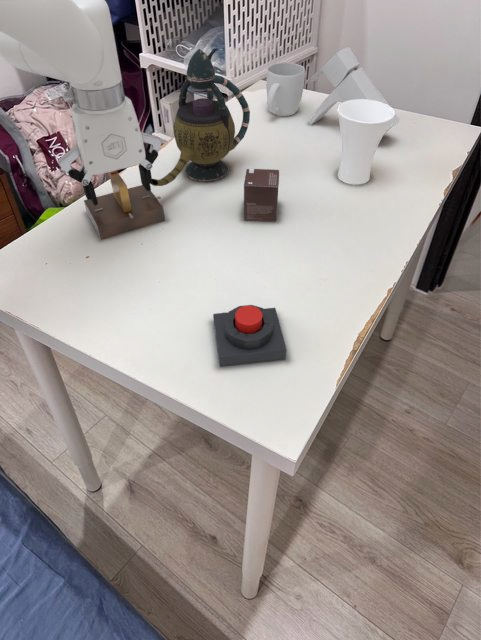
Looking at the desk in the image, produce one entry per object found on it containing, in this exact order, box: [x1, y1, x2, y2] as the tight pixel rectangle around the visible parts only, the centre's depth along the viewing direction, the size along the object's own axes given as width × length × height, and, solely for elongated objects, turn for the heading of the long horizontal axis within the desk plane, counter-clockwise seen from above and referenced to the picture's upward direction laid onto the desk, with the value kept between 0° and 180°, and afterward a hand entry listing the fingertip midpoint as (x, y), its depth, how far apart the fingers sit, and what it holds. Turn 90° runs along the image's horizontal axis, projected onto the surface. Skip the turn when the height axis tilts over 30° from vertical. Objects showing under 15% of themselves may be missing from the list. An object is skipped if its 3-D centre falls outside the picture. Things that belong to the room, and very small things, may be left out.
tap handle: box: [108, 170, 132, 213], centre depth 82 cm, size 6×1×5 cm, turn 28°
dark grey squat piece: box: [212, 304, 287, 368], centre depth 64 cm, size 9×8×4 cm
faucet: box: [309, 46, 401, 133], centre depth 107 cm, size 6×16×20 cm
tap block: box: [83, 184, 166, 241], centre depth 85 cm, size 12×10×3 cm
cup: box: [337, 99, 396, 186], centre depth 91 cm, size 10×10×14 cm
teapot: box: [150, 48, 251, 187], centre depth 87 cm, size 12×25×23 cm, turn 146°
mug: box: [265, 61, 306, 117], centre depth 113 cm, size 13×9×10 cm
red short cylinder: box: [235, 305, 262, 334], centre depth 62 cm, size 4×4×2 cm
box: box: [243, 168, 280, 223], centre depth 84 cm, size 6×6×7 cm
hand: (120, 194), depth 82 cm, fingers open, 9 cm apart
